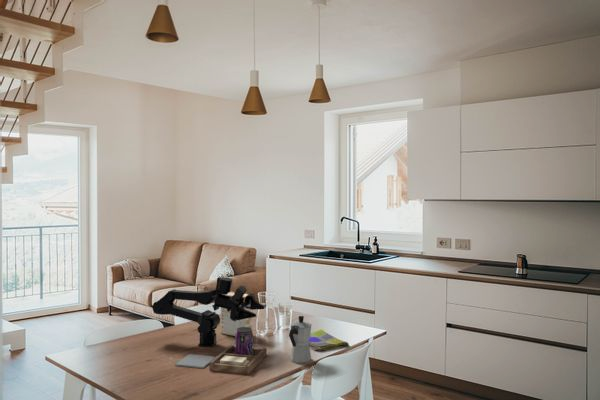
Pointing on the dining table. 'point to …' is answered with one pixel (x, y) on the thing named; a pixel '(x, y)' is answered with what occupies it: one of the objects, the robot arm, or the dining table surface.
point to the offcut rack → (246, 369)
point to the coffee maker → (300, 341)
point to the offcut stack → (234, 360)
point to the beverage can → (244, 341)
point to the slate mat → (195, 361)
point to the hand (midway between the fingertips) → (260, 311)
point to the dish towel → (325, 341)
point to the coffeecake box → (231, 326)
